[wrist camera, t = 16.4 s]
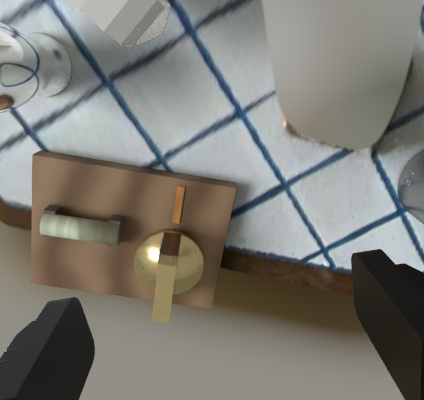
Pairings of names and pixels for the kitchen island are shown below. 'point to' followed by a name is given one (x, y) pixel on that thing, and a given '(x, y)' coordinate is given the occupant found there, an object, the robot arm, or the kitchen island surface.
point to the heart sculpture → (127, 18)
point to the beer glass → (30, 67)
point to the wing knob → (168, 267)
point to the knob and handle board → (120, 223)
